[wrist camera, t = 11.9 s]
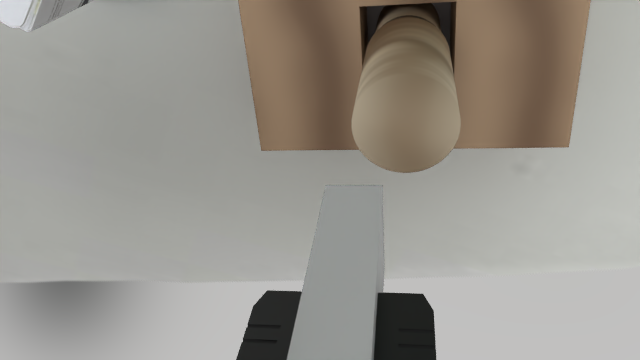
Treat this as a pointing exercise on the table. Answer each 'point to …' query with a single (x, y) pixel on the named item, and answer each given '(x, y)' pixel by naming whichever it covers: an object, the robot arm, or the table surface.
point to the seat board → (466, 56)
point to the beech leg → (406, 92)
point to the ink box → (35, 12)
